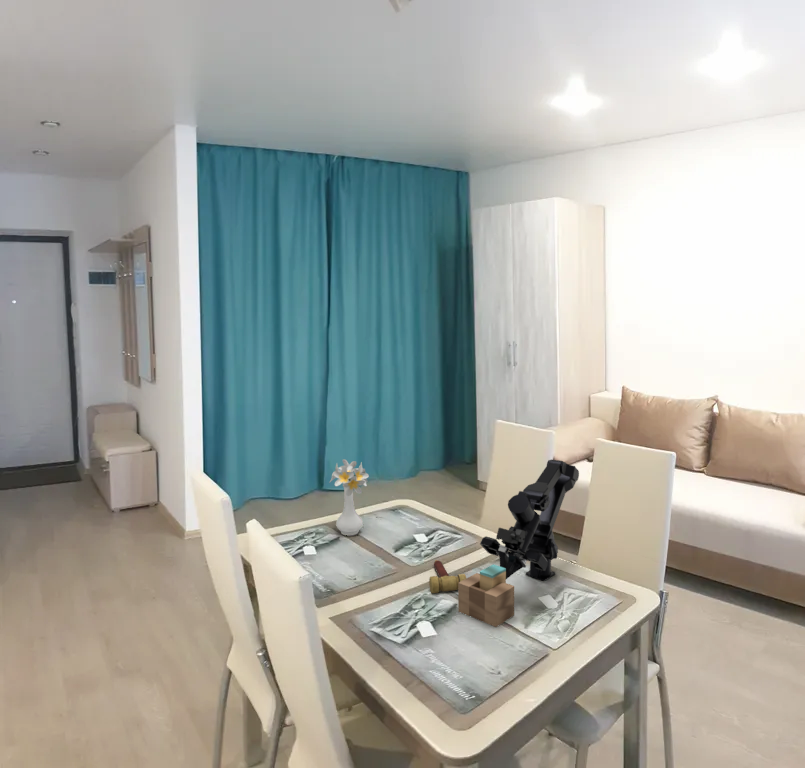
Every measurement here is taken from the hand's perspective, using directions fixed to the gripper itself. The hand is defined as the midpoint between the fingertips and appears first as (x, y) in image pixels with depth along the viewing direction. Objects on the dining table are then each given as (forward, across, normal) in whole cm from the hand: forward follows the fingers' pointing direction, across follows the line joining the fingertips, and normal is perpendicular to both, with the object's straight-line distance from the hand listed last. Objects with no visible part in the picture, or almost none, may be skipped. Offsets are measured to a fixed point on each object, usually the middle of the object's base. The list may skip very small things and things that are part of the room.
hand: (500, 581), depth 176 cm
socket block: (+9, 0, 0) cm, 9 cm away
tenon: (+7, 0, +2) cm, 8 cm away
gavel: (+3, -22, +7) cm, 24 cm away
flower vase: (-2, -69, +12) cm, 70 cm away
